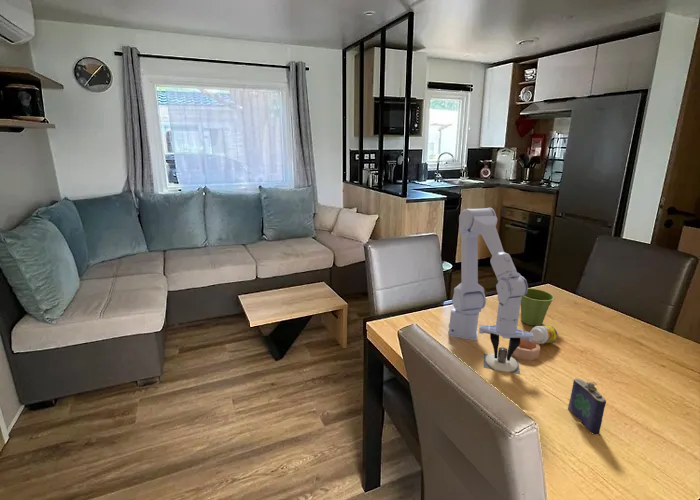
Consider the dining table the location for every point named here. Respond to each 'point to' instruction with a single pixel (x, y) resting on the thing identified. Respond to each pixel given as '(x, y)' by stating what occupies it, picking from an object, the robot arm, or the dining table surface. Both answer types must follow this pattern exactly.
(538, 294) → the plant pot
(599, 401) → the flask
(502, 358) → the lid
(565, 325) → the dining table surface
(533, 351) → the bowl
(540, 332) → the supplement bottle
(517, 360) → the mat
